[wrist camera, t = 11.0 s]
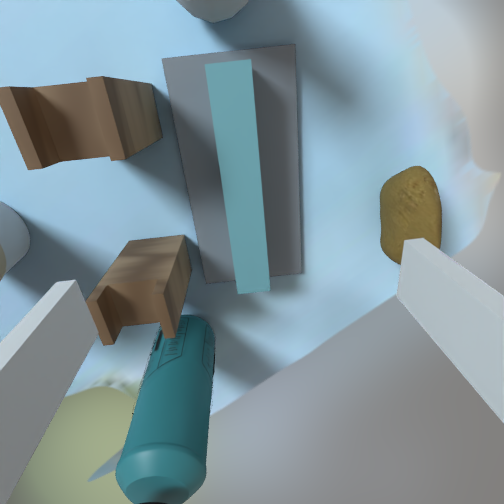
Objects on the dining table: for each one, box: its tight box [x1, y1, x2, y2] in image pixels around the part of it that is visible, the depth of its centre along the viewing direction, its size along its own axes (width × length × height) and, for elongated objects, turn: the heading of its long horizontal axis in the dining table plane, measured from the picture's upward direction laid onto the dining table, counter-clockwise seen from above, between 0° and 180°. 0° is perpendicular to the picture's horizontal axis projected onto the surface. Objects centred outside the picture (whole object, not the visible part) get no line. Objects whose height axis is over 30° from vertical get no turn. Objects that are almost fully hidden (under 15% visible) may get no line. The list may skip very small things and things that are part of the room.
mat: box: [162, 44, 301, 284], centre depth 28 cm, size 10×20×1 cm, turn 6°
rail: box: [205, 59, 270, 294], centre depth 26 cm, size 3×18×4 cm, turn 5°
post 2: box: [85, 235, 192, 346], centre depth 26 cm, size 5×4×10 cm
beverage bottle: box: [116, 315, 216, 504], centre depth 26 cm, size 6×7×20 cm
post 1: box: [0, 76, 163, 170], centre depth 20 cm, size 5×4×10 cm
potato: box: [380, 166, 442, 265], centre depth 26 cm, size 7×8×8 cm
